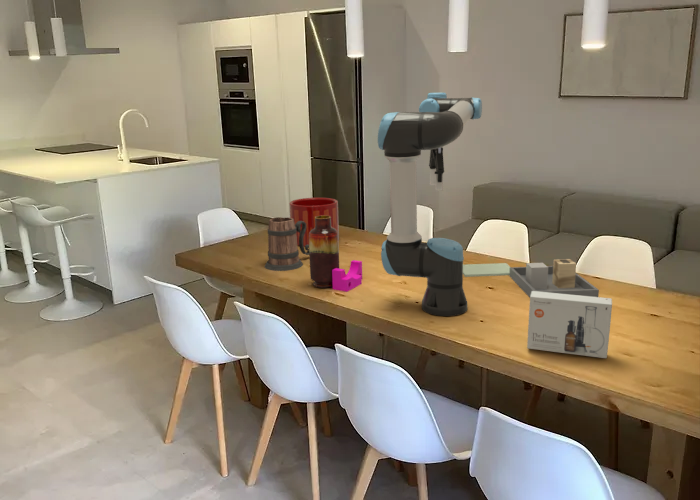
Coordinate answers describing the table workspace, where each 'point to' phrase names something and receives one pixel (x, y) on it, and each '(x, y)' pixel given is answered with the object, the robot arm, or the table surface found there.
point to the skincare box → (569, 323)
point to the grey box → (537, 275)
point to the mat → (486, 269)
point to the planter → (313, 213)
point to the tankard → (285, 244)
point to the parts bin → (580, 284)
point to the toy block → (347, 277)
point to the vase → (323, 252)
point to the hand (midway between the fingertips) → (436, 187)
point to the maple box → (564, 273)
